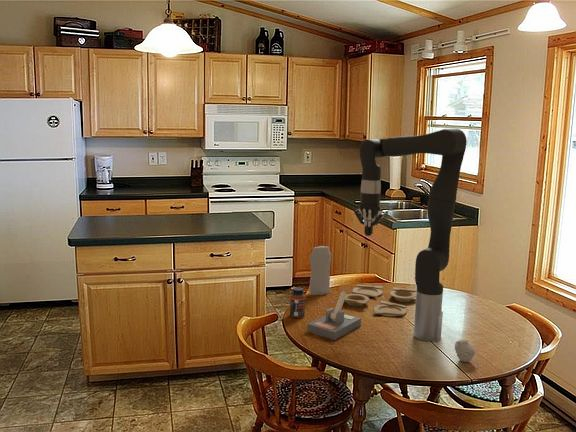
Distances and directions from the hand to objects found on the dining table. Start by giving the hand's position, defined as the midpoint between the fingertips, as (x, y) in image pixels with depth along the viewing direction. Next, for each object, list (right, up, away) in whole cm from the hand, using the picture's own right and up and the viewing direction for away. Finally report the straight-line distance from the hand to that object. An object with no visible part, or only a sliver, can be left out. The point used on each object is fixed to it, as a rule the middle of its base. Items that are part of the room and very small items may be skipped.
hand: (368, 235), depth 216 cm
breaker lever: (-14, -31, -9) cm, 36 cm away
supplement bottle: (-28, -32, +5) cm, 43 cm away
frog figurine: (+27, -40, -33) cm, 59 cm away
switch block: (-14, -35, -8) cm, 38 cm away
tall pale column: (-17, -27, +32) cm, 46 cm away
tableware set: (+8, -30, +24) cm, 39 cm away
